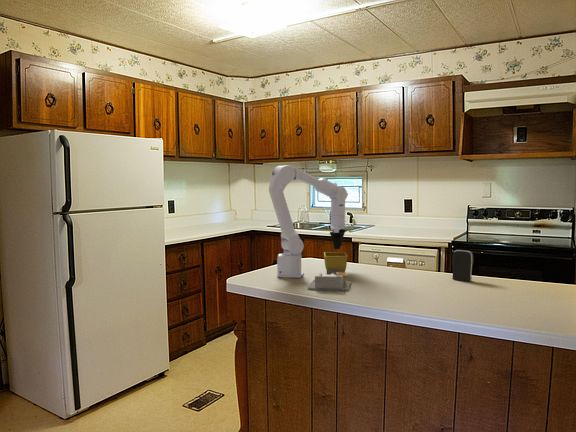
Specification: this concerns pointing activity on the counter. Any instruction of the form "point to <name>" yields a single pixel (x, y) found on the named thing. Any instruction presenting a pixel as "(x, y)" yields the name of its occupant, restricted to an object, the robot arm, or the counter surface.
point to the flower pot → (335, 261)
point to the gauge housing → (329, 283)
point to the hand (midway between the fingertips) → (338, 247)
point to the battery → (462, 265)
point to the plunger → (333, 273)
